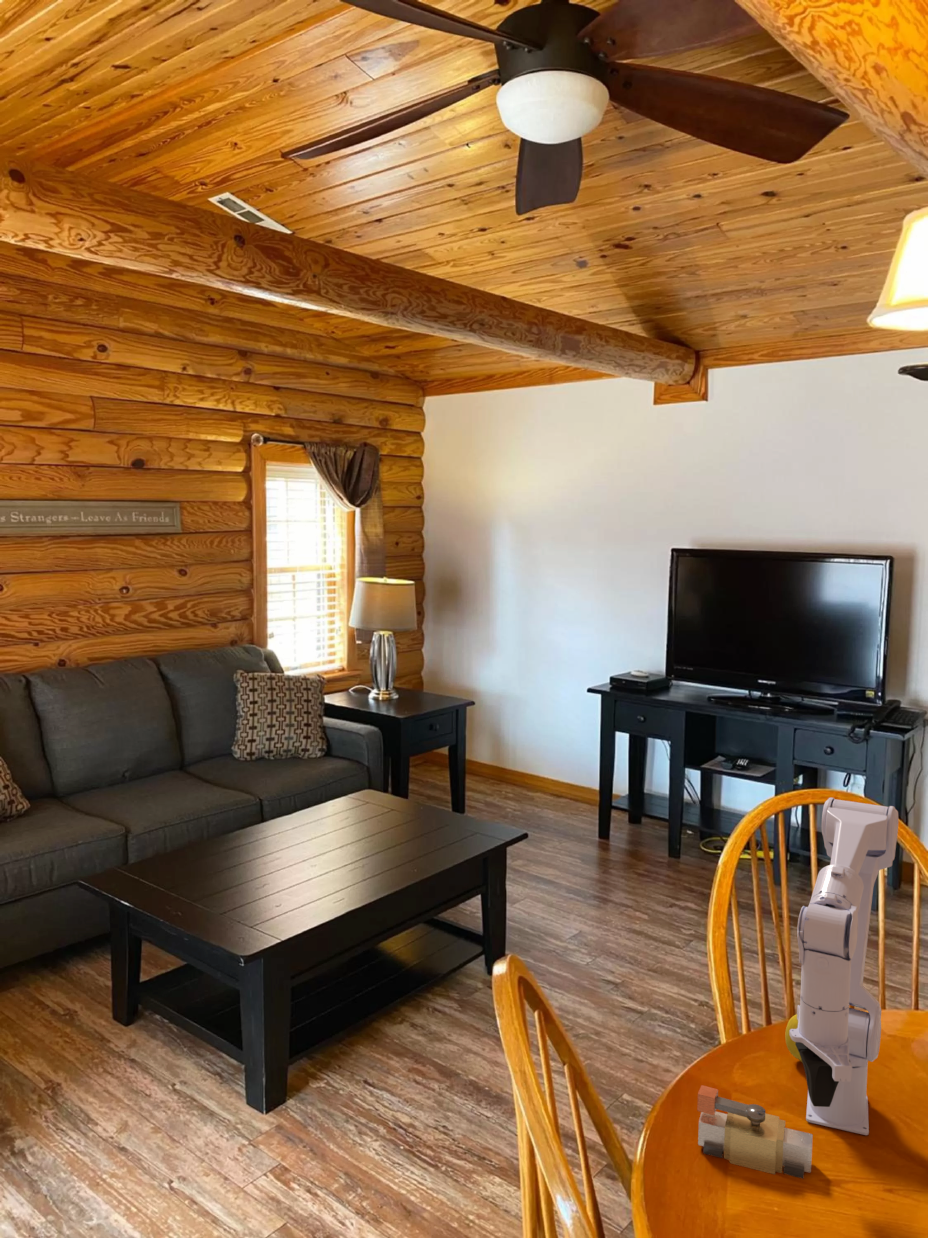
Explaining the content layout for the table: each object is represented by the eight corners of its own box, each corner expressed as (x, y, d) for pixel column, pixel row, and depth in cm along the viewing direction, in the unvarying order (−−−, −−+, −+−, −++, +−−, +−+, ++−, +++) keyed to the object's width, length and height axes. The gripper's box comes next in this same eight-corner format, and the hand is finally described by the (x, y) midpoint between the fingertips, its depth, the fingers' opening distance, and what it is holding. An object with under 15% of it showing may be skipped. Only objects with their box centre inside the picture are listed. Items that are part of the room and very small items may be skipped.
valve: (702, 1130, 127) (703, 1095, 126) (811, 1156, 122) (813, 1120, 121) (696, 1154, 122) (697, 1118, 121) (810, 1183, 116) (811, 1146, 116)
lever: (766, 1120, 122) (767, 1102, 122) (763, 1130, 120) (763, 1112, 119) (701, 1101, 126) (701, 1085, 125) (697, 1111, 123) (697, 1094, 123)
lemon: (823, 1075, 140) (825, 1024, 140) (784, 1069, 142) (786, 1018, 141) (820, 1056, 146) (822, 1007, 145) (783, 1050, 147) (785, 1001, 146)
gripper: (775, 972, 124) (771, 1070, 125) (810, 1029, 109) (806, 1139, 110) (829, 974, 123) (825, 1071, 125) (871, 1031, 109) (866, 1141, 110)
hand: (820, 1103), depth 118 cm, fingers closed
